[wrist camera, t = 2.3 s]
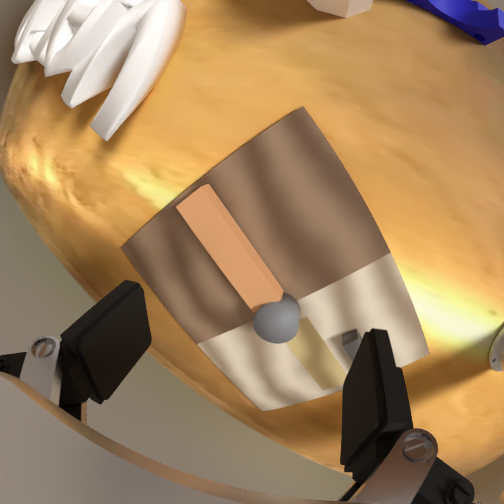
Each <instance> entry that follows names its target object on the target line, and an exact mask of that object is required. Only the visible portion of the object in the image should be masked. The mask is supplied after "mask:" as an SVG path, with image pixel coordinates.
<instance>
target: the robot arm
mask: <svg viewBox="0 0 504 504" xmlns="http://www.w3.org/2000/svg"><path fill="white" fill-rule="evenodd" d="M60 336H61V338H62V341H61V342H60V343H59V341H58V339H57V338H56V337H54V336H51V335H45V336H41V337H38V338H36V339H35V340H34V341H33V342H32V343H31V344H30V346H29V348H28V351H27V352H22V353H15V354H7V355H1V356H0V504H481V503H480V502H479V500H477V501H476V502H475V501H474V494H475V493H474V487H473V485H472V483H471V482H470V481H469V480H467V479H466V478H465V477H463V476H462V475H461V474H459V473H458V472H457V471H455V470H454V469H452V468H451V467H450V466H448V465H447V464H446V463H444V462H443V461H442V460H440V459H439V458H438V457H437V453H438V444H437V441H436V439H435V438H434V436H433V435H432V434H431V433H429V432H428V431H426V430H424V429H419V428H413V422H412V416H411V410H410V405H409V400H408V395H407V390H406V385H405V380H404V376H403V372H402V369H401V368H400V367H396V363H395V359H394V354H393V350H392V346H391V342H390V338H389V335H388V331H387V330H384V329H375V328H372V329H371V330H370V332H365V333H364V336H363V338H362V341H361V343H360V346H359V348H358V351H357V353H356V356H355V358H354V360H353V363H352V365H351V367H350V369H349V372H348V374H347V376H346V378H345V381H344V384H343V406H342V439H341V457H340V463H341V465H345V467H344V472H353V477H352V479H354V480H355V481H354V483H353V484H352V485H351V486H350V487H349V488H348V489H347V491H346V492H345V493H344V494H343V495H342V496H341V497H340V498H339V499H338V500H337V501H323V500H310V499H300V498H292V497H284V496H277V495H271V494H265V493H259V492H254V491H249V490H245V489H240V488H236V487H232V486H228V485H224V484H220V483H217V482H213V481H210V480H207V479H203V478H200V477H197V476H194V475H191V474H188V473H185V472H182V471H180V470H177V469H174V468H172V467H169V466H167V465H164V464H162V463H159V462H157V461H154V460H152V459H150V458H147V457H145V456H143V455H141V454H139V453H137V452H135V451H132V450H130V449H128V448H126V447H124V446H122V445H121V444H119V443H117V442H115V441H113V440H111V439H109V438H107V437H106V436H104V435H102V434H100V433H99V432H97V431H95V430H94V429H92V428H90V427H89V426H87V421H86V420H87V413H86V412H87V400H88V398H89V397H90V399H91V400H93V401H95V402H97V403H98V404H102V402H103V401H104V400H107V399H109V398H110V396H111V395H112V394H113V392H114V391H115V390H116V389H117V387H118V386H119V385H120V383H121V382H122V381H123V379H124V378H125V377H126V376H127V374H128V373H129V372H130V370H131V369H132V368H133V367H134V365H135V364H136V363H137V361H138V360H139V359H140V358H141V356H142V355H143V354H144V352H145V351H146V350H147V349H148V347H149V346H150V344H151V333H150V327H149V322H148V316H147V310H146V303H145V297H144V290H143V288H141V286H140V284H139V283H137V282H133V281H129V280H125V281H123V282H122V283H121V284H120V285H119V286H117V287H116V288H115V289H114V290H112V291H111V292H110V293H109V294H108V295H106V296H105V297H104V298H103V299H101V300H100V301H99V302H98V303H97V304H96V305H94V306H93V307H92V308H91V309H90V310H88V311H87V312H86V313H85V314H84V315H83V316H81V317H80V318H79V319H78V320H77V321H76V322H75V323H74V324H72V325H71V326H70V327H69V328H68V329H67V330H65V331H64V332H63V333H62V334H61V335H60ZM489 363H490V365H491V367H492V369H493V370H495V371H504V327H503V328H502V329H501V331H500V332H499V333H498V335H497V337H496V338H495V340H494V342H493V344H492V346H491V349H490V352H489ZM498 504H504V491H503V492H502V494H501V496H500V498H499V500H498Z"/></svg>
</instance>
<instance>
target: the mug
mask: <svg viewBox="0 0 504 504" xmlns="http://www.w3.org/2000/svg"><path fill="white" fill-rule="evenodd" d="M307 1H308V2H309V3H310V4H311V5H312V6H313V7H314V8H315V9H316V10H318V11H322V12H326V13H329V14H333V15H337V16H340V17H343V18H348V17H351V16H354V15H357V14H360V13H363V12H366V11H369V10H370V8H371V5H372V3H373V0H307Z"/></svg>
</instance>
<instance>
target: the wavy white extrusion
mask: <svg viewBox="0 0 504 504" xmlns="http://www.w3.org/2000/svg"><path fill="white" fill-rule="evenodd" d="M186 17H187V7H186V6H185V5H184V4H183V3H182V2H181V1H180V0H35V2H34V3H33V5H32V6H31V7H30V9H29V10H28V12H27V13H26V15H25V17H24V18H23V20H22V22H21V24H20V27H19V29H18V31H17V34H16V38H15V51H14V53H13V56H12V58H11V60H12V62H13V63H15V64H18V63H23V62H29V61H35V60H37V61H38V62H39V63H40V64H42V65H43V66H44V74H45V77H48V76H52V75H56V74H60V73H65V72H69V71H72V72H71V74H70V76H69V78H68V80H67V82H66V84H65V86H64V89H63V91H62V94H61V97H62V99H63V101H64V103H65V104H66V105H67V106H69V107H70V108H74V107H76V106H77V105H79V104H81V103H83V102H84V101H86V100H88V99H90V98H92V97H94V96H95V95H97V94H99V93H101V92H103V91H105V90H107V89H109V88H111V87H112V89H111V91H110V93H109V95H108V96H107V98H106V100H105V102H104V103H103V105H102V107H101V108H100V110H99V112H98V113H97V115H96V117H95V118H94V120H93V121H92V123H91V124H90V126H91V128H92V129H93V130H94V131H95V132H96V133H97V134H98V135H99V136H100V137H102V138H103V139H104V140H106V141H108V140H109V139H110V137H111V136H112V135H113V134H114V133H115V131H116V130H117V129H118V128H119V127H120V126H121V124H122V123H123V122H124V121H125V120H126V119H127V118H128V117H129V115H130V114H131V113H132V112H133V111H134V110H135V109H136V108H137V107H138V106H139V105H140V104H141V103H142V101H143V100H144V99H145V98H146V97H147V96H148V94H149V93H150V92H151V91H152V89H153V88H154V87H155V85H156V84H157V82H158V81H159V80H160V78H161V77H162V75H163V74H164V72H165V70H166V69H167V67H168V65H169V63H170V62H171V60H172V58H173V56H174V54H175V52H176V50H177V47H178V45H179V43H180V40H181V37H182V34H183V31H184V27H185V23H186Z"/></svg>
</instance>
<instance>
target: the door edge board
mask: <svg viewBox="0 0 504 504" xmlns="http://www.w3.org/2000/svg"><path fill="white" fill-rule="evenodd" d="M206 184H209V185H210V186H211V188H212V189H213V190H214V192H215V193H216V195H217V196H218V198H219V199H220V200H221V202H222V203H223V205H224V206H225V207H226V209H227V210H228V212H229V213H230V215H231V216H232V217H233V219H234V220H235V222H236V223H237V225H238V226H239V227H240V229H241V230H242V232H243V233H244V234H245V236H246V237H247V239H248V240H249V242H250V243H251V244H252V246H253V247H254V249H255V250H256V252H257V253H258V254H259V256H260V257H261V259H262V260H263V262H264V263H265V264H266V266H267V267H268V269H269V270H270V272H271V273H272V274H273V276H274V277H275V279H276V280H277V282H278V283H279V284H280V286H281V287H282V289H283V290H284V291H283V293H286V294H289V295H291V296H292V297H294V298H295V299H296V300H297V302H298V303H299V305H300V310H301V311H300V319H299V325H298V331H297V334H296V335H295V337H294V338H293V339H292V340H290V341H288V342H285V343H280V344H275V343H270V342H267V341H265V340H263V339H262V338H260V337H259V336H258V335H257V333H256V332H255V330H254V327H253V321H254V318H255V315H256V313H257V312H254V313H253V311H252V310H251V309H250V308H249V306H248V305H247V304H246V302H245V301H244V300H243V298H242V297H241V296H240V294H239V293H238V292H237V290H236V289H235V288H234V286H233V285H232V284H231V282H230V281H229V280H228V278H227V277H226V276H225V274H224V273H223V272H222V270H221V269H220V268H219V266H218V265H217V264H216V262H215V261H214V260H213V258H212V257H211V255H210V254H209V253H208V251H207V250H206V249H205V247H204V246H203V244H202V243H201V242H200V240H199V239H198V238H197V236H196V235H195V233H194V232H193V231H192V229H191V228H190V226H189V225H188V224H187V222H186V221H185V219H184V218H183V217H182V215H181V214H180V212H179V211H178V209H177V208H176V206H177V205H179V204H180V203H181V202H182V201H183V200H185V199H186V198H187V197H188V196H190V195H191V194H192V193H193V192H195V191H196V190H197V189H198V188H200V187H201V186H204V185H206ZM121 248H122V249H123V251H124V252H125V254H126V255H127V257H128V258H129V259H130V261H131V262H132V264H133V265H134V266H135V268H136V269H137V271H138V272H139V273H140V275H141V276H142V277H143V279H144V280H145V281H146V283H147V284H148V285H149V287H150V288H151V289H152V291H153V292H154V293H155V294H156V296H157V297H158V298H159V300H160V301H161V302H162V303H163V305H164V306H165V307H166V308H167V310H168V311H169V312H170V313H171V314H172V316H173V317H174V318H175V319H176V320H177V322H178V323H179V324H180V325H181V326H182V328H183V329H184V330H185V331H186V332H187V333H188V335H189V336H190V337H191V338H192V339H193V340H194V342H195V343H196V344H197V345H198V346H199V347H200V348H201V349H202V351H203V352H204V353H205V354H206V355H207V356H208V357H209V358H210V359H211V360H212V361H213V363H214V364H215V365H216V366H217V367H218V368H219V369H220V370H221V371H222V372H223V373H224V374H225V375H226V376H227V377H228V378H229V379H230V380H231V381H232V382H233V383H234V384H235V385H236V386H237V387H238V388H239V389H240V390H241V391H242V392H243V393H244V394H245V395H246V396H247V397H248V398H249V399H250V400H251V401H252V402H253V403H254V404H255V405H256V406H257V407H258V408H259V409H260V410H261V411H262V412H264V411H269V410H274V409H278V408H282V407H287V406H291V405H295V404H298V403H302V402H306V401H310V400H313V399H317V398H320V397H323V396H327V395H330V394H333V393H336V392H339V391H342V390H343V384H344V381H345V378H346V376H347V374H348V372H349V369H350V367H351V365H352V363H353V360H354V358H355V356H356V353H357V351H358V348H359V346H360V343H361V341H362V338H363V336H364V333H365V332H370V330H371V329H372V328H375V329H384V330H387V331H388V335H389V338H390V342H391V346H392V350H393V354H394V359H395V363H396V367H400V368H401V367H403V366H406V365H408V364H410V363H412V362H414V361H416V360H418V359H421V358H423V357H425V356H427V355H429V354H430V352H429V349H428V346H427V343H426V340H425V337H424V334H423V331H422V328H421V325H420V322H419V319H418V317H417V314H416V311H415V309H414V306H413V303H412V301H411V298H410V296H409V293H408V291H407V288H406V286H405V284H404V281H403V279H402V277H401V274H400V272H399V270H398V267H397V265H396V263H395V261H394V259H393V256H392V254H391V252H390V250H389V248H388V246H387V244H386V242H385V240H384V238H383V236H382V234H381V232H380V230H379V228H378V226H377V224H376V222H375V220H374V218H373V216H372V214H371V212H370V211H369V209H368V207H367V205H366V203H365V201H364V200H363V198H362V196H361V194H360V193H359V191H358V189H357V187H356V186H355V184H354V182H353V180H352V179H351V177H350V175H349V174H348V172H347V171H346V169H345V167H344V166H343V164H342V162H341V161H340V159H339V158H338V156H337V155H336V153H335V151H334V150H333V148H332V147H331V145H330V144H329V142H328V141H327V139H326V138H325V136H324V135H323V133H322V132H321V131H320V129H319V128H318V126H317V125H316V123H315V122H314V121H313V119H312V118H311V116H310V115H309V114H308V112H307V111H306V110H305V108H304V107H303V106H302V107H300V108H299V109H297V110H296V111H294V112H292V113H291V114H289V115H288V116H286V117H285V118H283V119H282V120H280V121H279V122H277V123H276V124H274V125H273V126H271V127H270V128H268V129H267V130H265V131H264V132H262V133H261V134H260V135H258V136H257V137H255V138H254V139H252V140H251V141H250V142H248V143H247V144H245V145H244V146H243V147H241V148H240V149H238V150H237V151H236V152H234V153H233V154H232V155H230V156H229V157H228V158H226V159H225V160H224V161H222V162H221V163H220V164H218V165H217V166H216V167H214V168H213V169H212V170H211V171H209V172H208V173H207V174H205V175H204V176H203V177H202V178H200V179H199V180H198V181H197V182H195V183H194V184H193V185H192V186H190V187H189V188H188V189H187V190H186V191H184V192H183V193H182V194H181V195H180V196H178V197H177V198H176V199H175V200H174V201H172V202H171V203H170V204H169V205H168V206H167V207H165V208H164V209H163V210H162V211H161V212H160V213H158V214H157V215H156V216H155V217H154V218H153V219H152V220H151V221H149V222H148V223H147V224H146V225H145V226H144V227H143V228H142V229H141V230H139V231H138V232H137V233H136V234H135V235H134V236H133V237H132V238H131V239H130V240H129V241H128V242H127V243H126V244H124V245H123V246H122V247H121Z"/></svg>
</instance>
